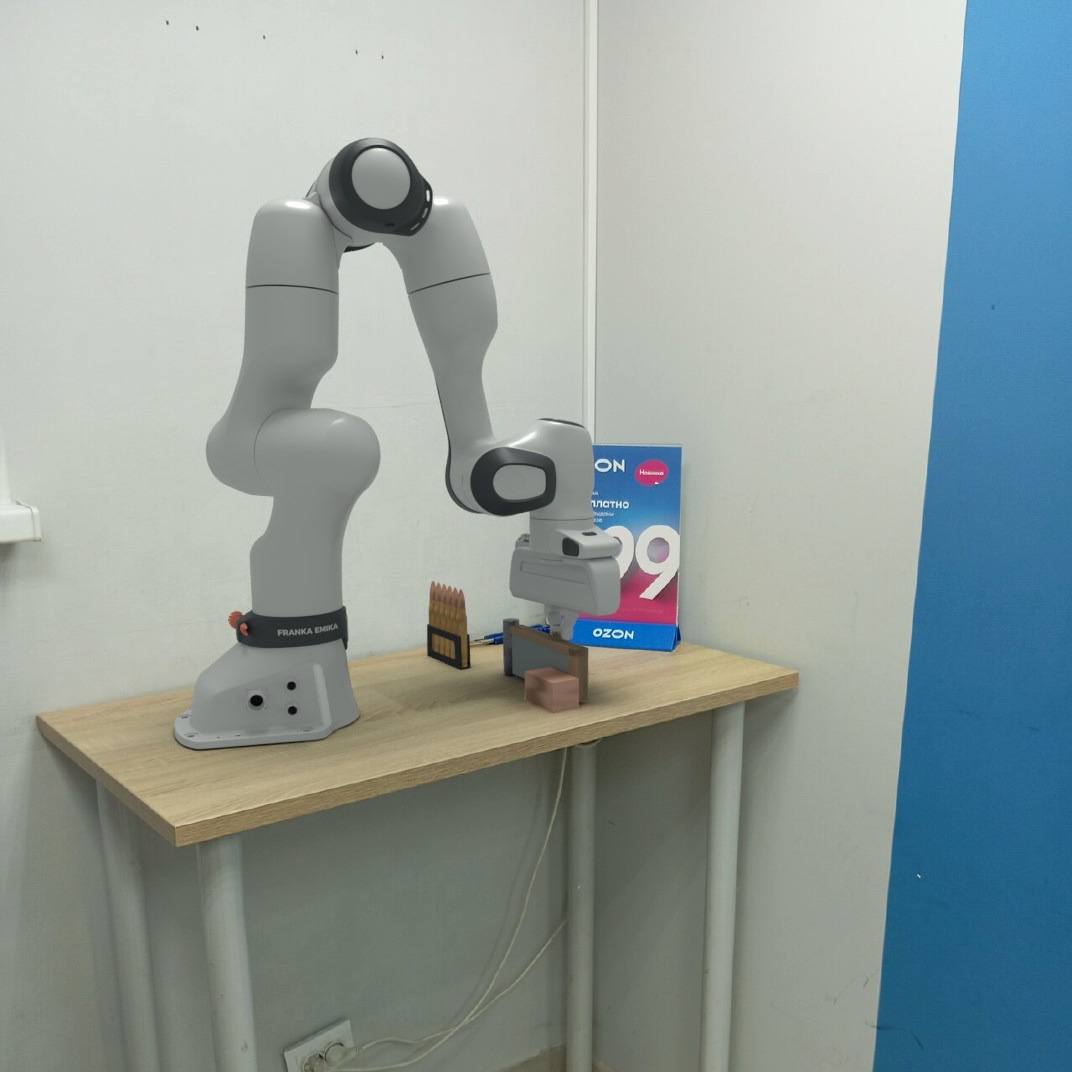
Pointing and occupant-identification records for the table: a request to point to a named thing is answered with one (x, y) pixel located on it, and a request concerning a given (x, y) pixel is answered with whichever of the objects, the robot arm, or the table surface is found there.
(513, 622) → the hinge post
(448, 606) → the ammunition clip
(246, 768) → the table surface
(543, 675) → the block
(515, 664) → the gate
